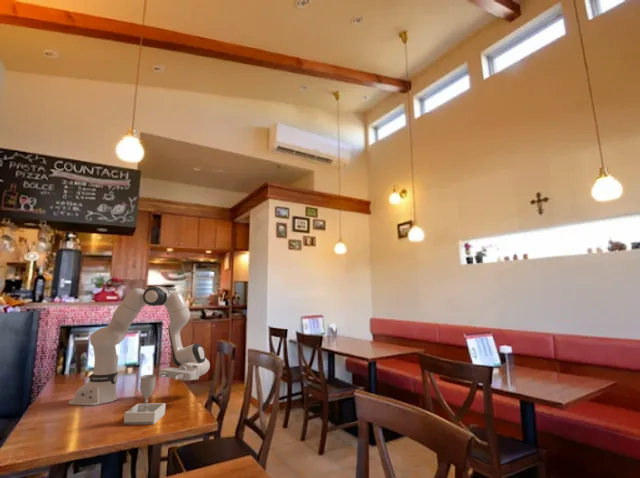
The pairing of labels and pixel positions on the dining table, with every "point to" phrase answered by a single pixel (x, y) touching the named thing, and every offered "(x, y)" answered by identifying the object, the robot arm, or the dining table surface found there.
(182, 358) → the robot arm
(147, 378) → the chalice
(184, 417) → the dining table surface
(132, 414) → the walled box
